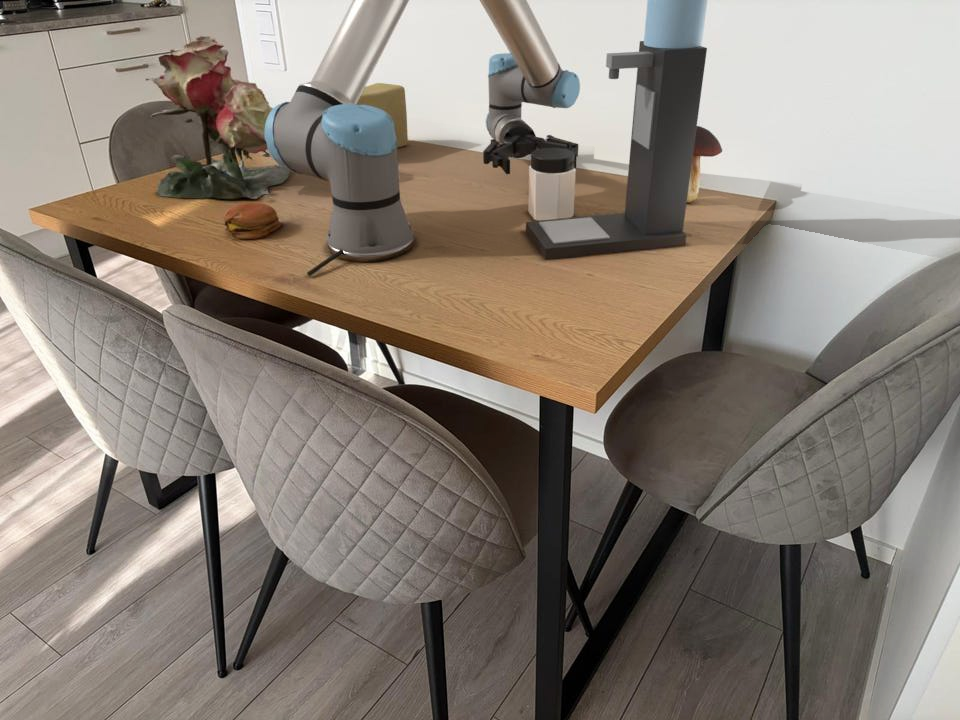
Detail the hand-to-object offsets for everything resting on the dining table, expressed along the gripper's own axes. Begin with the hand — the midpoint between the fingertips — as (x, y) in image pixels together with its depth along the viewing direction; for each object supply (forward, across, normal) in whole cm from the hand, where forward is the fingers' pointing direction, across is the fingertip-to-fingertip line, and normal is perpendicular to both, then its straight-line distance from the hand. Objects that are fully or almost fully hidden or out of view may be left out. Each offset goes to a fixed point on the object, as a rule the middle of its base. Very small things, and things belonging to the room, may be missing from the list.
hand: (541, 164), depth 144 cm
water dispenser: (+21, -6, -8) cm, 24 cm away
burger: (+1, +57, -8) cm, 57 cm away
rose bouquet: (-31, +62, -8) cm, 70 cm away
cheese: (-46, +32, -8) cm, 56 cm away
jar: (+7, 0, -8) cm, 11 cm away
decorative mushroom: (+7, -28, -8) cm, 30 cm away
